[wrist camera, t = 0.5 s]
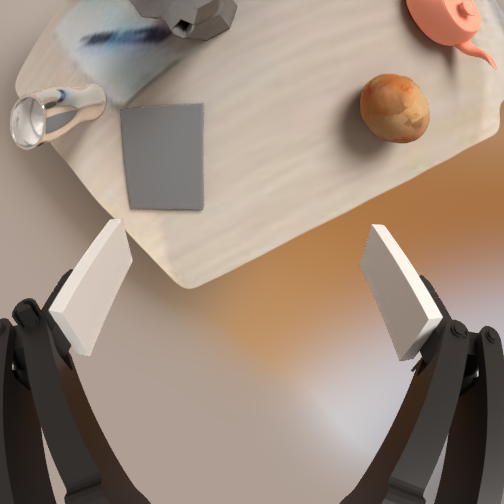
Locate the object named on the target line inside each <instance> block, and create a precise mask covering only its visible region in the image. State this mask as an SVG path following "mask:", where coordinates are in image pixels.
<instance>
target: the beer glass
mask: <svg viewBox="0 0 504 504" xmlns="http://www.w3.org/2000/svg"><path fill="white" fill-rule="evenodd" d="M105 105H106V95H105V92H104V90H103V89H102V87H101V86H99V85H97V84H94V83H90V84H86V85H84V86H82V87H80V88H71V87H50V88H45V89H41V90H38V91H35V92H33V93H30V94H27V95H24V96H22V97H21V98H19V99H18V101H17V102H16V103H15V105H14V107H13V109H12V112H11V116H10V132H11V135H12V138H13V140H14V142H15V143H16V145H17V146H18V147H20V148H21V149H24V150H31V149H33V148H35V147H38V146H40V145H43V144H46V143H48V142H50V141H53V140H55V139H57V138H58V137H60V136H62V135H63V134H65V133H66V132H68V131H69V130H70V129H72V128H73V127H74V126H76V125H77V124H78V123H80V122H82V121H91V120H94V119H96V118H97V117H99V116H100V115H101V113H102V112H103V110H104V108H105Z"/></svg>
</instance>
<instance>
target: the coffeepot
mask: <svg viewBox="0 0 504 504" xmlns="http://www.w3.org/2000/svg"><path fill="white" fill-rule="evenodd" d="M130 2H131V3H132V4H133V6H134V7H135V8H136V10H137V11H138V12H139V14H140V15H141V16H142V17H146V18H153V19H159V20H165V22H166V23H167V25H168V26H169V28H170V30H171V31H172V33H173V35H175V36H177V37H179V38H192V39H200V40H208V39H210V38H212V37H214V36H216V35H218V34H220V33H221V32H223V31H225V30H227V29H229V28H230V27H231V24H232V21H233V18H234V15H235V12H236V9H237V7H238V6H237V5H236V4H235V2H234V1H233V0H130Z"/></svg>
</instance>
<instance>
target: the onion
mask: <svg viewBox="0 0 504 504" xmlns="http://www.w3.org/2000/svg"><path fill="white" fill-rule="evenodd" d="M360 112H361V115H362V118H363V120H364V122H365V123H366V125H367V126H368V127H369V129H370V130H371V132H372V133H373V134H374V135H375V136H377V137H378V138H380V139H382V140H385V141H390V142H395V143H409V142H412V141H415V140H417V139H418V138H420V137H421V136H422V135H423V133H424V132H425V131H426V129H427V127H428V124H429V119H430V110H429V105H428V102H427V99H426V97H425V95H424V94H423V92H422V91H421V89H420V88H419V86H418V85H417V84H416V83H415V82H414V81H413V80H412V79H410V78H408V77H405V76H400V75H395V74H382V75H379V76H377V77H375V78H373V79H372V80H371V81H369V82H368V83H367V84H366V85H365V87H364V88H363V90H362V93H361V98H360Z"/></svg>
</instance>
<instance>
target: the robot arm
mask: <svg viewBox="0 0 504 504" xmlns="http://www.w3.org/2000/svg"><path fill="white" fill-rule="evenodd" d="M131 263H132V256H131V253H130V249H129V245H128V241H127V236H126V232H125V228H124V224H123V219H112V220H110V221H109V222H108V223H107V224H106V226H105V227H104V228H103V229H102V231H101V232H100V233H99V235H98V236H97V237H96V239H95V240H94V241H93V243H92V244H91V246H90V247H89V248H88V250H87V251H86V253H85V254H84V255H83V257H82V258H81V260H80V261H79V263H78V264H77V266H76V267H75V269H74V270H72V269H70V270H69V271H68V272H67V273H66V274H64V275H63V276H62V278H61V279H60V281H59V282H58V285H57V286H56V287H55V289H54V292H52V293H51V295H50V297H49V298H48V300H47V302H46V303H45V305H44V307H43V308H42V310H40V308H39V306H38V305H37V303H36V301H35V300H33V299H31V298H28V299H24V300H22V301H21V302H20V303H18V304H17V306H15V308H14V310H13V312H12V317H13V318H14V320H15V321H16V323H17V324H18V325H17V326H13V325H12V324H11V323H10V321H9V320H8V319H6V318H2V319H0V504H56V501H55V497H54V494H53V490H52V486H51V482H50V478H49V473H48V469H47V464H46V459H45V453H44V447H43V440H42V432H41V427H42V430H43V433H44V436H45V439H46V442H47V445H48V448H49V450H50V453H51V455H52V458H53V460H54V462H55V465H56V467H57V470H58V472H59V474H60V476H61V478H62V480H63V483H64V485H65V487H66V490H67V493H66V495H65V497H64V499H65V504H151V503H150V502H149V501H148V499H147V498H146V497H145V496H144V495H143V494H141V493H140V492H139V491H138V490H137V489H136V488H135V487H134V485H133V484H132V482H131V481H130V479H129V478H128V476H127V474H126V473H125V471H124V470H123V468H122V466H121V465H120V463H119V461H118V460H117V458H116V456H115V455H114V453H113V451H112V449H111V448H110V446H109V444H108V442H107V440H106V438H105V436H104V434H103V432H102V430H101V428H100V426H99V424H98V422H97V420H96V418H95V416H94V413H93V412H92V409H91V407H90V404H89V402H88V400H87V397H86V395H85V393H84V390H83V387H82V385H81V382H80V380H79V377H78V374H77V371H76V369H75V366H74V363H73V360H72V357H71V355H70V353H69V352H68V351H69V349H70V347H71V346H72V347H73V349H74V350H75V352H76V353H78V354H82V355H87V356H91V353H92V351H93V348H94V345H95V343H96V340H97V338H98V335H99V333H100V331H101V328H102V326H103V323H104V321H105V319H106V316H107V314H108V312H109V309H110V307H111V305H112V303H113V301H114V299H115V296H116V294H117V292H118V290H119V288H120V286H121V284H122V281H123V280H124V277H125V275H126V273H127V271H128V269H129V267H130V265H131ZM360 267H361V269H362V271H363V274H364V276H365V278H366V280H367V282H368V284H369V286H370V289H371V291H372V293H373V296H374V298H375V300H376V303H377V305H378V307H379V309H380V312H381V314H382V317H383V319H384V321H385V324H386V326H387V329H388V331H389V334H390V337H391V339H392V342H393V345H394V347H395V350H396V352H397V355H398V358H399V361H404V360H410V359H413V358H414V357H415V356H416V355H417V353H418V352H419V351H420V353H421V355H422V358H421V359H420V360H419V362H418V363H417V364H416V365H415V366H414V367H413V369H412V370H411V371H414V370H415V369H416V371H415V373H414V376H413V379H412V381H411V384H410V386H409V389H408V391H407V394H406V396H405V398H404V401H403V403H402V405H401V407H400V410H399V412H398V414H397V416H396V418H395V420H394V422H393V424H392V426H391V428H390V430H389V432H388V434H387V436H386V438H385V440H384V442H383V443H382V445H381V447H380V449H379V451H378V452H377V454H376V456H375V458H374V459H373V461H372V463H371V464H370V466H369V468H368V469H367V471H366V472H365V474H364V475H363V477H362V479H361V480H360V482H359V483H358V485H357V486H356V487H355V489H354V490H353V491H352V492H351V493H350V494H349V495H348V496H346V497H345V498H344V499H343V500H342V501H341V502H340V504H425V502H426V500H425V499H424V497H423V493H424V490H425V488H426V486H427V484H428V482H429V480H430V477H431V475H432V473H433V471H434V468H435V466H436V464H437V461H438V459H439V456H440V454H441V451H442V449H443V446H444V443H445V441H446V438H447V435H448V442H447V448H446V454H445V460H444V465H443V470H442V475H441V480H440V484H439V488H438V492H437V496H436V499H435V503H434V504H500V503H501V499H502V493H503V488H504V355H503V349H502V344H501V339H500V337H499V334H498V333H497V331H495V329H493V328H492V327H490V326H485V327H483V328H482V329H481V331H480V332H479V333H473V332H468V329H467V328H466V327H465V325H464V324H462V323H461V322H459V321H457V320H452V319H451V317H450V315H449V313H448V312H447V310H446V308H445V306H444V305H443V303H442V301H441V300H440V298H439V296H438V295H437V293H436V292H435V290H434V288H433V286H432V285H431V283H430V282H429V281H428V280H427V279H426V278H425V277H424V276H422V275H420V276H418V274H417V272H416V271H415V269H414V268H413V266H412V265H411V263H410V262H409V261H408V259H407V257H406V256H405V254H404V253H403V251H402V250H401V248H400V247H399V245H398V244H397V243H396V241H395V240H394V239H393V237H392V236H391V234H390V233H389V231H388V230H387V229H386V227H385V226H384V225H374V224H372V225H371V229H370V233H369V236H368V240H367V243H366V246H365V250H364V253H363V256H362V259H361V263H360ZM12 364H13V365H14V370H12ZM478 370H479V376H478V377H477V373H476V372H477V371H478ZM448 432H449V433H448Z"/></svg>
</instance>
